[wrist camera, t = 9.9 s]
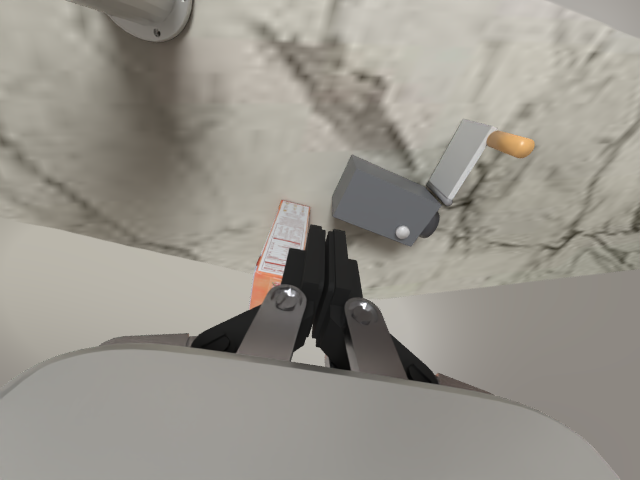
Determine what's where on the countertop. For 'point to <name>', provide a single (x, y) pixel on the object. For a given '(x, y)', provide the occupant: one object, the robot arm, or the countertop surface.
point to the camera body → (384, 203)
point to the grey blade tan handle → (471, 155)
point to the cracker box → (279, 248)
